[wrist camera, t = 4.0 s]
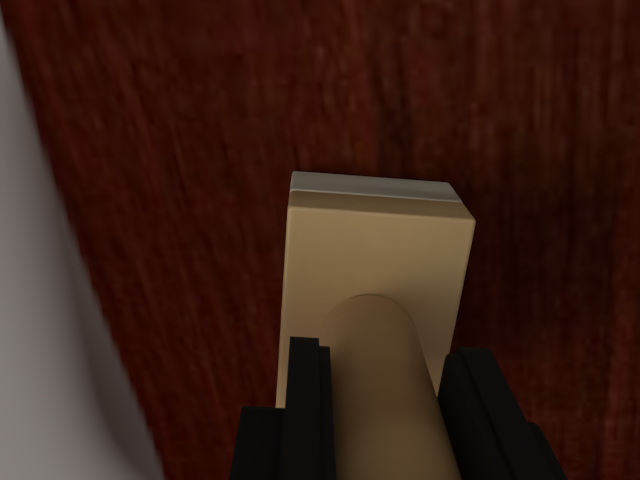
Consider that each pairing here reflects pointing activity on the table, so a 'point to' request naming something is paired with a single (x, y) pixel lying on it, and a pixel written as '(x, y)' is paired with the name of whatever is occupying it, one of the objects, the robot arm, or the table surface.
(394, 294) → the wooden stamp
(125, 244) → the table surface
